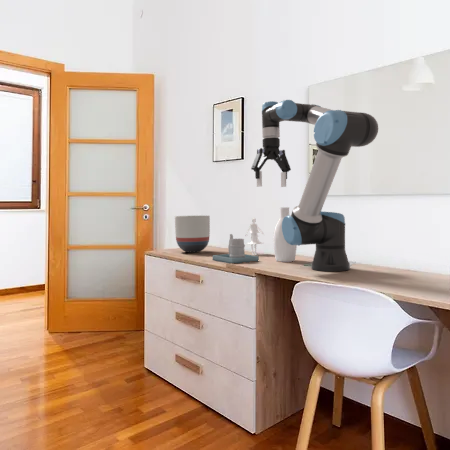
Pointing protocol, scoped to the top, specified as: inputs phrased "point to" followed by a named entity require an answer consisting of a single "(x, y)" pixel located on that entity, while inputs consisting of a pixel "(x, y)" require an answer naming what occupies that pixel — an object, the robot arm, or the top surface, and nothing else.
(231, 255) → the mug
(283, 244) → the bottle
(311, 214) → the robot arm
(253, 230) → the figurine
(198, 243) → the planter
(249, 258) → the tray
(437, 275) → the top surface
